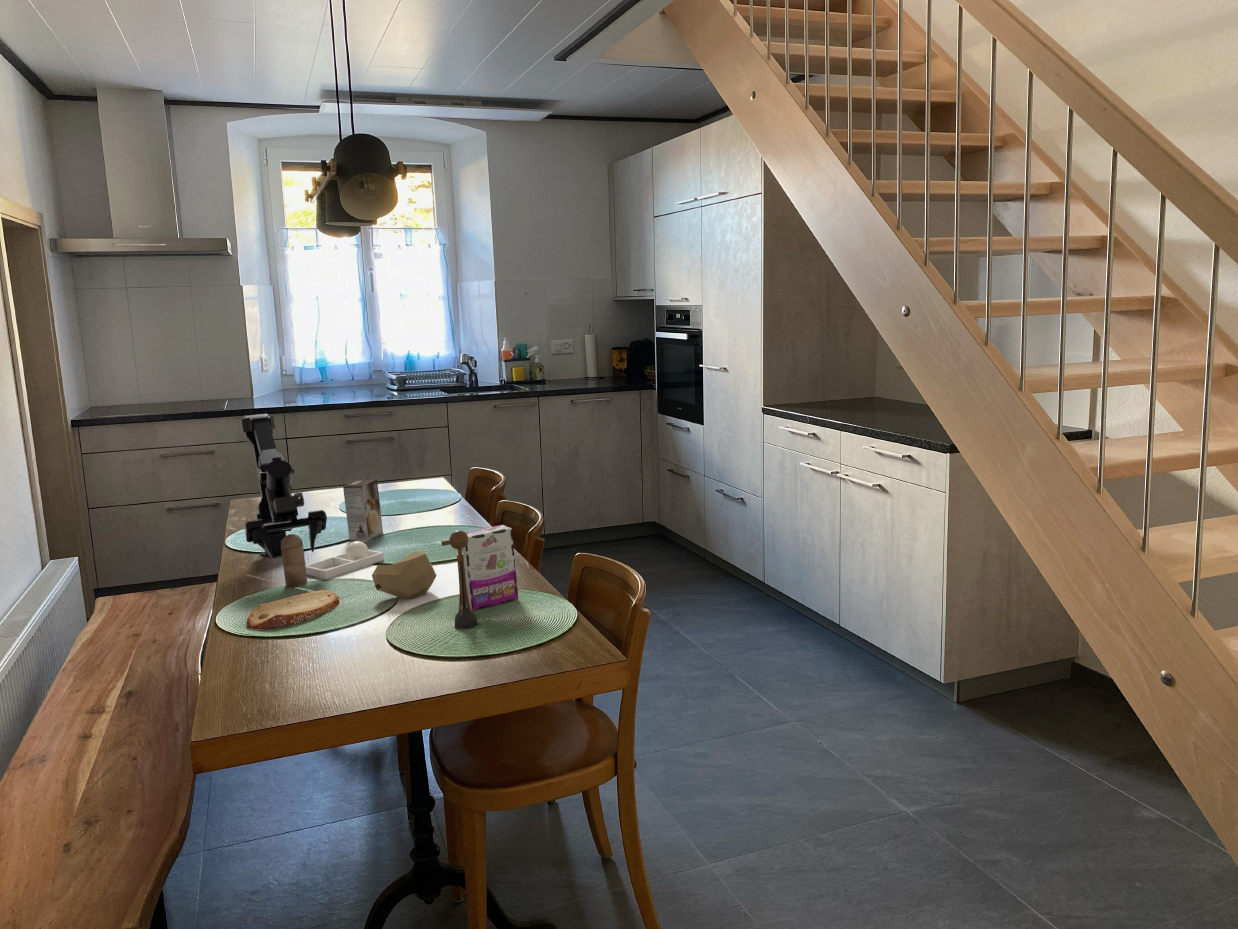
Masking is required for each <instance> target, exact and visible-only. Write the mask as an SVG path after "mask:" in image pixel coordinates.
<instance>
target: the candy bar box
mask: <svg viewBox="0 0 1238 929" xmlns="http://www.w3.org/2000/svg"><path fill="white" fill-rule="evenodd" d="M464 532H465V533H466V534H467V535H468V539H469V540H468V544H467V545H466V547H465V548H462V553H464V567H465V577H466V586H467V593H468V598H469V603H470V607H471V610H472V611H478V610H480V609H481V610H482V609H484V608H485V609H486V608H488V607H489V608H490V607H493V606H497V605H501V604H505V603H510V602H514V601H516V600H519V592H518V590H519V589H518V580H517V579H518V578H517V572H516V571H517V570H516V560H515V559H516V558H515V548H514V538H513V529H512V528H511V527H509V526H507V525H505V524H500V525H495V526H490V527H485V528H480V529H476V530H471V531H464ZM466 606H467V603H466Z"/></svg>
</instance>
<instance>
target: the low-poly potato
mask: <svg viewBox="0 0 1238 929" xmlns="http://www.w3.org/2000/svg"><path fill="white" fill-rule="evenodd" d="M371 577H372V578H371V579H372V580H373V583H374V587H375V589H376V591H379V592H382V593H385V594H389V595H391V596H394V597H397V598H401V599H409V600H413V599H416V598H420V597H423V596H425V595H426V594H427V592H429V589H430V588H431V587H432V585H433V584H434V581H435V580H436V578H437V574H436V571H435V569H434V567H433V564H432V563H431V561H430V559H429V557H428V556H427V555H426V552H424V550H420V551H414V552H411V553H410V554H408V555H406V556H404V557H403V558H401V559H400V560H398V561H396V562H394V563H392V564H379V565H376V568H375V569H374V570H373V573H372V574H371Z"/></svg>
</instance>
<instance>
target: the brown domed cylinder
mask: <svg viewBox="0 0 1238 929" xmlns="http://www.w3.org/2000/svg"><path fill="white" fill-rule="evenodd" d="M281 551H282V555H281V557H282V558H281V560H282V566H283V573H284V581H285V582H284V584H285V587H286V588H299V587H300V585H304V584H306V583H307V582H308V575H307V574H306V566H305V565H306V560H305V551H304V544H303V539H302V538H301V536H300V535H297V534H296V533H294V534H293V533H290V534H286V536H285V537H284V538H283V539H282V541H281Z"/></svg>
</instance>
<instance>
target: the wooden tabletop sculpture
mask: <svg viewBox="0 0 1238 929" xmlns="http://www.w3.org/2000/svg"><path fill="white" fill-rule="evenodd" d="M465 532H466V531H463V530H462V529H461V530H460V529H459V530H455V531H453V532H452V533H451V534H450V536H449V539H445V540H441V546H442V547H444V546H449V545H450V546H451V548H453V549H454V550H457V553H456V554H455V555H456V560H457V561H456V562H457V570H458V572H457V573H458V574H457V575H458V586H459V587H458V588H459V589H458V590H459V591H458V592H459V597H458V598H459V599H458V600H459V604H458V611H457V613H456V614H455V617H454V628H455V629H458V630H469V629H472V628H476V626H478V625H479V624H478V617H477V614H476V612H474V610H471V607H470V603H469V598H468V593H467V586H466V577H465V567H464V553H462V548H465V547H466V545H467V544H468V540H469V539H468V535H467V534H466V533H465ZM466 603H467V606H466Z"/></svg>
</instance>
